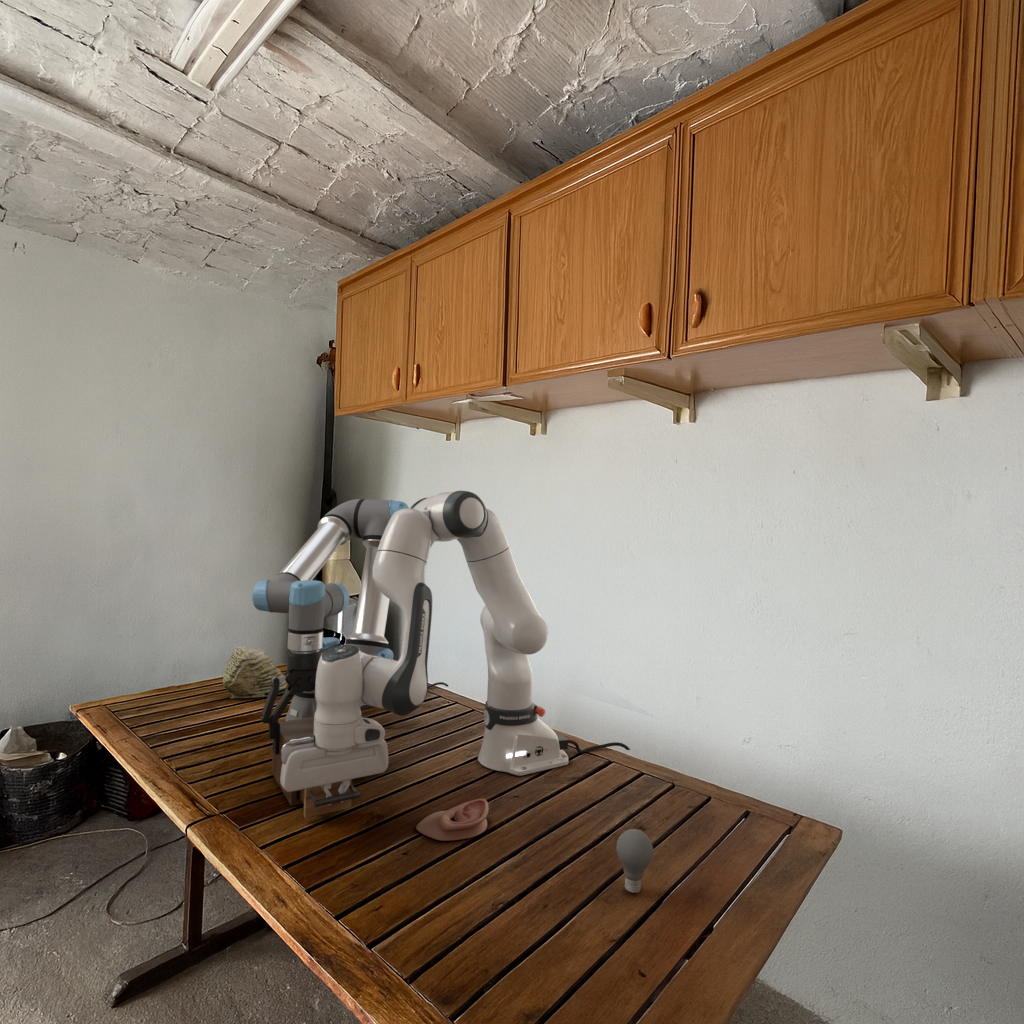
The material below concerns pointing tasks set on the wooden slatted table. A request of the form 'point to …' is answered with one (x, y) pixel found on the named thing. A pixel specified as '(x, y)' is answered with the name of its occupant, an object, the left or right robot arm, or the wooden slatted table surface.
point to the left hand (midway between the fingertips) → (301, 747)
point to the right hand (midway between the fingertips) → (334, 802)
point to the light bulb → (634, 857)
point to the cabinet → (287, 732)
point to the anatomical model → (456, 821)
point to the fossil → (250, 673)
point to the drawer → (326, 799)
